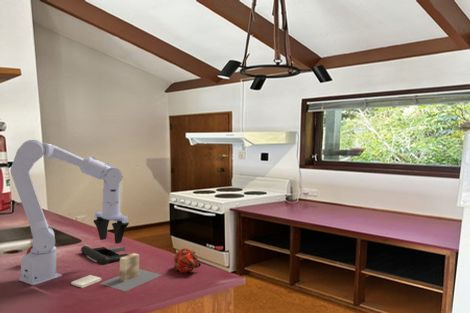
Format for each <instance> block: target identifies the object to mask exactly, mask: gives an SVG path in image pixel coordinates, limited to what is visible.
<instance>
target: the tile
mask: <svg viewBox="0 0 470 313" xmlns="http://www.w3.org/2000/svg"><path fill="white" fill-rule="evenodd" d="M100 281H102V277H99V276H97V275H92V274H89V275H87V276H83V277H81V278H78V279H76V280H73V281H71V282H70V284H71V285H73V286H74V287H75V286H76V287H79V288H82V289H83V288H85V287H88V286H91V285H93V284H96V283H100Z"/></svg>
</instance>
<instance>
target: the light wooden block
mask: <svg viewBox="0 0 470 313" xmlns="http://www.w3.org/2000/svg"><path fill="white" fill-rule="evenodd" d="M139 269H140V254H138V253H135V252H133V253H130V254H129V255H127V256H124V257H121V258H120V261H119V276H120V280H122V281H127V280H130V279H132V278H134V277H137V276H139Z"/></svg>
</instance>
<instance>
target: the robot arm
mask: <svg viewBox="0 0 470 313" xmlns="http://www.w3.org/2000/svg"><path fill="white" fill-rule="evenodd" d="M43 156H44V158H45V159H53V158H56V159H58V160H60V161H63V162H66V163H69V164H71V165H74V166H76V167H78V168H79V169H80V171H81V173H82V174H85V175H88V176H90V177H92V178H95V179H98V180H103V188H102V210H101V211H96V212H94V218H95V219H93V223H94V225H95V227H96V229H97V230H96V231H97V232H98V236H99V239H100V241H103V240H106V239H107V238H108V237H107V236H108V228H109V224H110V221H113V222H112V223H111V226H112V228H113V233H114V243H115V244H121V243H122V241H123V238H124V234H125V233H126V232H125V231H126V229H127V228H128V226H129V224H130V222H129V216H125V215H124V214H122V212H121V189H122V188H121V182H122V180H123V177H124V176H123V174H122V171H121V170H120V169H119V168H117V167H115V166H113V165H111V163H109V162H108V163H105V162H103V161H101V160H98V157H95V156H92V157H91V156H87V157H84V158H83V157H81V156H79V155H77V154H75V153H72V152H70V151H68V150H66V149H63V148H61V147H60V146H57V145H54V144H50V143H47V142H41V141H39V140H37V139H29V140H27V141H24V142H23V143H22V144H21V146H19V148H18V149H17V150H16V153H15V156H14V157H13V158H14V159H13V161H12V164H11V167H10V169H9V170H10V174H11V177H12V181H13V183H14V186H15V188H16V191H17V194H18V197H19V199H20V203H21V205H22V207H23V211H24V213H25V216H26V220H27V221H28V224H29V227H30V231H31V235H32V244H31V246H33V248H32V249H31V252H30V253H29V254H27V255H26V254H25V255H23V256H22V258H21V259H20V278H19V281H20V282H23V283H25V284H28V285H33V286H35V285H38V284H41V283H44V282H47V281H50V280H54V279H55V278H59V277H62V276H63V274H61V273H58V272H57V246H55V245H56V238H55V231H54V230H53V228H52V227H51V226H49V223H48V221H47V219H46V216H45V214H44V211H43V208H42V205H41V203H40V200H39V197H38V194H37V192H36V189H35V186H34V182H33V180H32V178H31V174H30V170H31V169H32V167H34V164H36V162H37V161H39V160H40V159H41V158H42V157H43Z"/></svg>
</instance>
